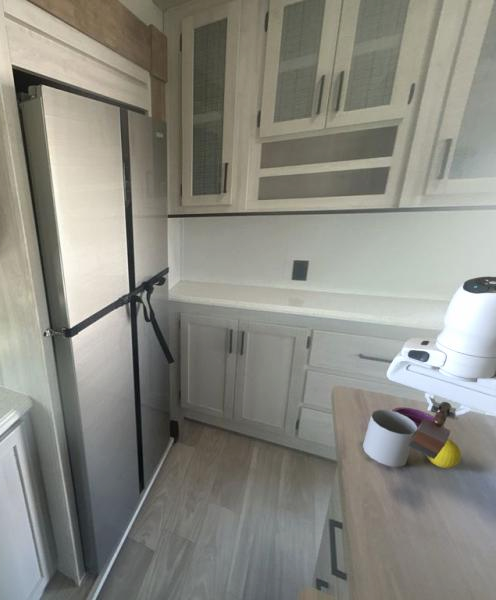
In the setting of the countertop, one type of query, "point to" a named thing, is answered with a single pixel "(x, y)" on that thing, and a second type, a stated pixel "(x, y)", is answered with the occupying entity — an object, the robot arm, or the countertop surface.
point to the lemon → (447, 455)
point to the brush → (432, 433)
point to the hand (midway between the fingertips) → (442, 414)
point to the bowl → (414, 415)
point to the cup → (389, 437)
